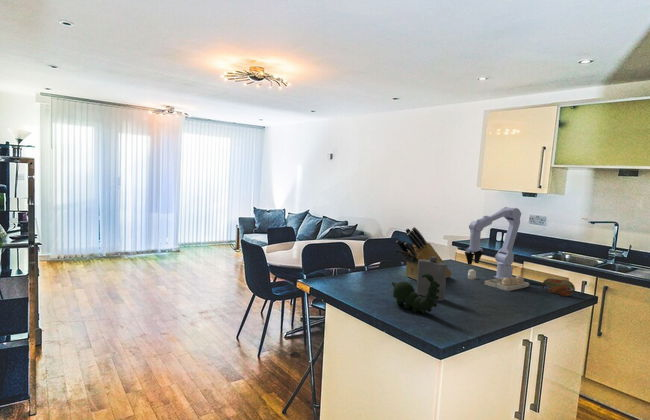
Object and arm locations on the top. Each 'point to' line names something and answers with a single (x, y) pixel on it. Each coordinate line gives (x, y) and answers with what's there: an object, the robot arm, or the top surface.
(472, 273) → the cream egg
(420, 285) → the flask
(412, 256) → the knife block
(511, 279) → the brown egg middle
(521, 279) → the brown egg
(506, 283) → the brown egg
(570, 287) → the tin
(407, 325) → the top surface
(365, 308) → the top surface
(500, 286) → the egg carton
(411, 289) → the toy figurine
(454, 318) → the top surface
